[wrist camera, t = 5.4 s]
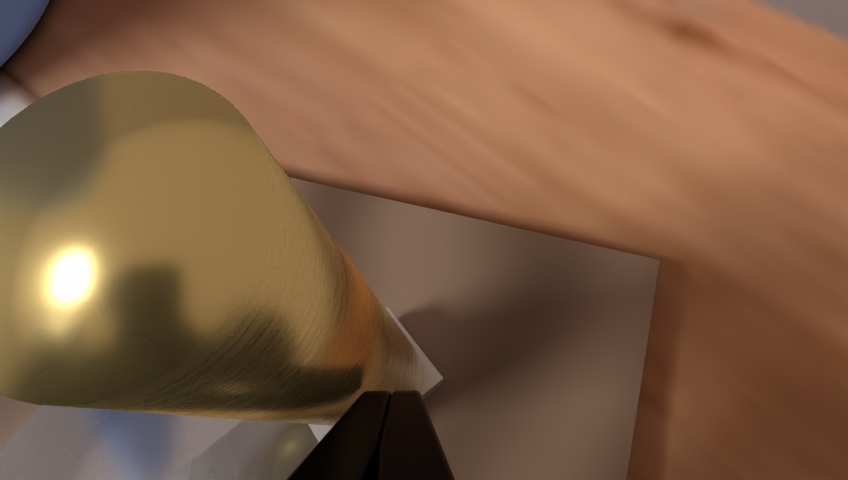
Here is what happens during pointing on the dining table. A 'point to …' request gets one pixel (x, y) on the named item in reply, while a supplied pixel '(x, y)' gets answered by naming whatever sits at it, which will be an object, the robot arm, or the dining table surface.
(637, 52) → the dining table surface
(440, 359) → the walnut board
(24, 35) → the water jug
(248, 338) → the dial
